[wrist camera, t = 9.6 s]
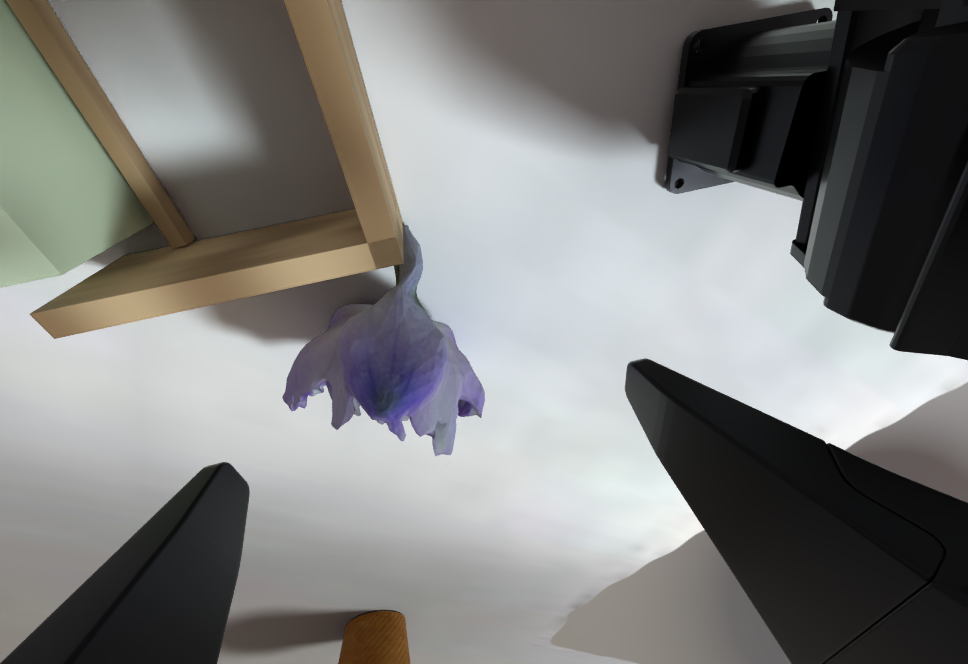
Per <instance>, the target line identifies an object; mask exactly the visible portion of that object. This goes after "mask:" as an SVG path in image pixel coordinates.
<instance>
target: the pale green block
mask: <svg viewBox="0 0 968 664" xmlns="http://www.w3.org/2000/svg"><path fill="white" fill-rule="evenodd" d="M152 223H154V220H153V219H152V217H151V216H150V214H149V213H148V212H147V210H146V209H145V207H144V206H143V204H142V203H141V201H140V200H139V198H138V197H137V195H136V194H135V192H134V191H133V189H132V188H131V186H130V185H129V183H128V182H127V180H126V179H125V177H124V176H123V174H122V173H121V171H120V170H119V168H118V167H117V165H116V164H115V162H114V161H113V159H112V158H111V156H110V155H109V153H108V152H107V150H106V149H105V147H104V146H103V144H102V143H101V141H100V140H99V138H98V137H97V135H96V134H95V133H94V131H93V130H92V128H91V127H90V125H89V124H88V122H87V121H86V119H85V118H84V116H83V115H82V113H81V112H80V110H79V109H78V107H77V106H76V104H75V103H74V101H73V100H72V98H71V97H70V95H69V94H68V92H67V91H66V89H65V88H64V86H63V85H62V83H61V82H60V80H59V79H58V77H57V76H56V74H55V73H54V71H53V70H52V68H51V67H50V65H49V64H48V62H47V61H46V59H45V58H44V56H43V55H42V54H41V52H40V51H39V49H38V48H37V46H36V45H35V43H34V42H33V40H32V39H31V37H30V36H29V34H28V33H27V31H26V30H25V28H24V27H23V25H22V24H21V22H20V21H19V19H18V18H17V16H16V15H15V13H14V12H13V10H12V9H11V7H10V6H9V4H8V3H7V1H6V0H0V288H1V287H6V286H11V285H16V284H21V283H25V282H30V281H35V280H40V279H45V278H50V277H55V276H60V275H63V274H65V273H66V272H68V271H70V270H72V269H73V268H75V267H77V266H79V265H80V264H82V263H84V262H86V261H87V260H89V259H91V258H93V257H94V256H96V255H98V254H100V253H101V252H103V251H105V250H107V249H108V248H110V247H112V246H114V245H116V244H117V243H119V242H121V241H123V240H124V239H126V238H128V237H130V236H131V235H133V234H135V233H137V232H138V231H140V230H142V229H144V228H145V227H147V226H149V225H151V224H152Z"/></svg>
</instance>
